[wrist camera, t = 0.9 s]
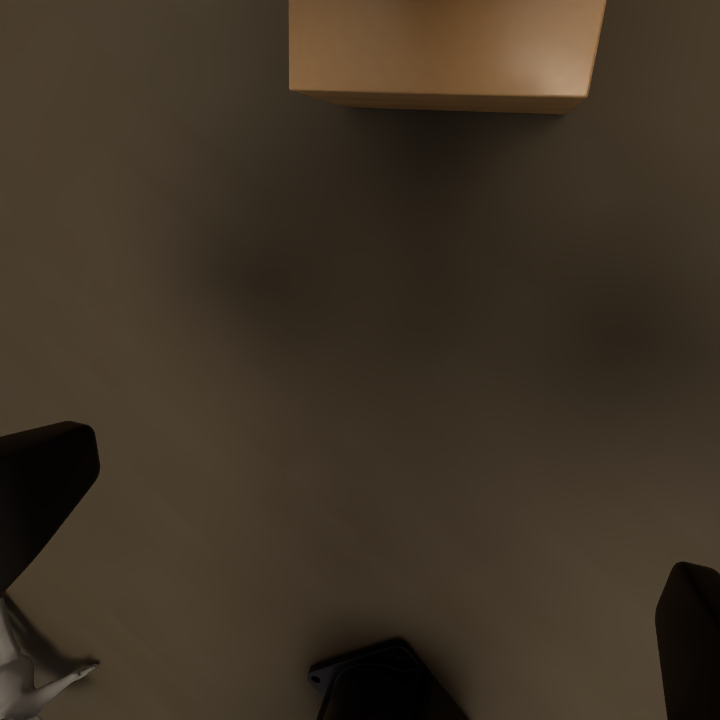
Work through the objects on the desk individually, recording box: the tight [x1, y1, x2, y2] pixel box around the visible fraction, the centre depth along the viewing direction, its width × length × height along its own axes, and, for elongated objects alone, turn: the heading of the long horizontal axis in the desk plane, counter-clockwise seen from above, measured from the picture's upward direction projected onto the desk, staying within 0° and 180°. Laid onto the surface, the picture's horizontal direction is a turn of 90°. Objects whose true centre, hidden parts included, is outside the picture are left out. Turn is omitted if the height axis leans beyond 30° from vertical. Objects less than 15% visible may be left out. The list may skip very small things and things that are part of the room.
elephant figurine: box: [0, 598, 98, 720], centre depth 32 cm, size 10×6×9 cm
